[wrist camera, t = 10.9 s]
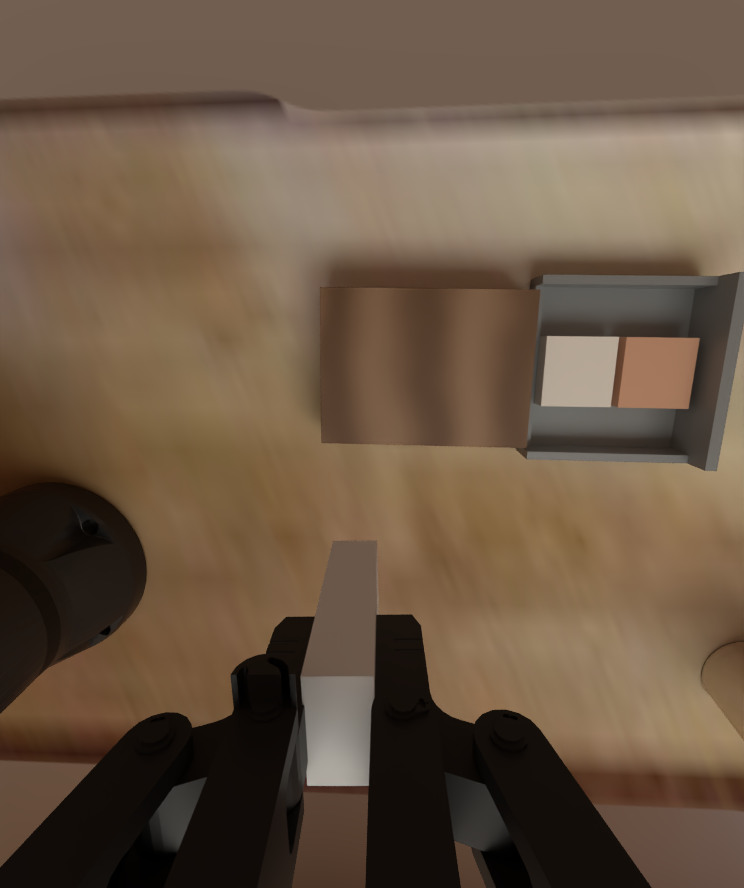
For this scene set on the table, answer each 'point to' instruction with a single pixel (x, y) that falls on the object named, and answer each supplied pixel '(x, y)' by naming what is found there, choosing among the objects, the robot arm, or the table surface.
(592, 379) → the cream tile
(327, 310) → the walnut board
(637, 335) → the tray
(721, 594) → the table surface
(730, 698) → the utensil holder
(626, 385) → the terracotta tile
